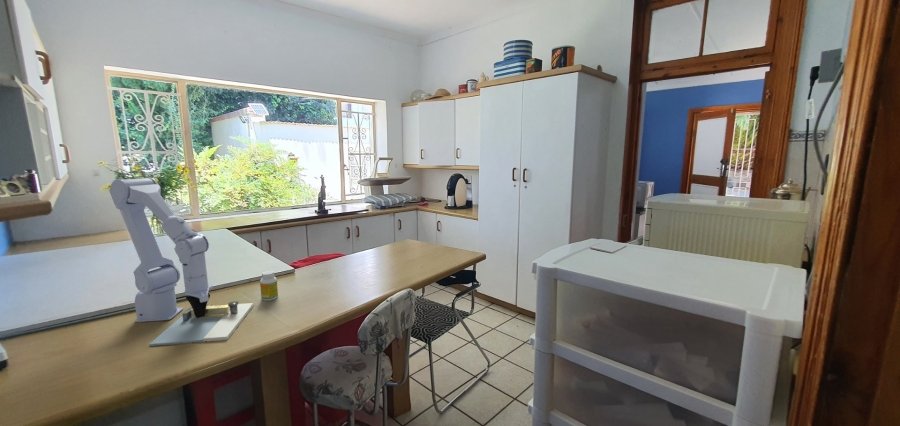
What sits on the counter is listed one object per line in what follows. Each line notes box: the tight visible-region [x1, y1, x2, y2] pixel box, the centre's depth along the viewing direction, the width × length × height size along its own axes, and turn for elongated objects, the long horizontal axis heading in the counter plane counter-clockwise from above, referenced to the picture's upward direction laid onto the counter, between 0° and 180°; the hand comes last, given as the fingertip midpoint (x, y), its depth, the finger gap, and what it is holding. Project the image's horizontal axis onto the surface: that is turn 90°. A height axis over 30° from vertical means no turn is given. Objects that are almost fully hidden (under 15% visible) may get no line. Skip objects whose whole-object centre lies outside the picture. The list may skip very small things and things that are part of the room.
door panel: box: [149, 302, 255, 347], centre depth 106 cm, size 19×22×1 cm
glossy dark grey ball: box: [227, 300, 239, 315], centre depth 111 cm, size 3×3×4 cm
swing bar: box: [191, 304, 230, 317], centre depth 109 cm, size 10×2×3 cm, turn 103°
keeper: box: [181, 303, 213, 321], centre depth 109 cm, size 6×6×2 cm
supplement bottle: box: [259, 270, 279, 302], centre depth 124 cm, size 5×5×10 cm
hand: (200, 316), depth 106 cm, fingers closed
